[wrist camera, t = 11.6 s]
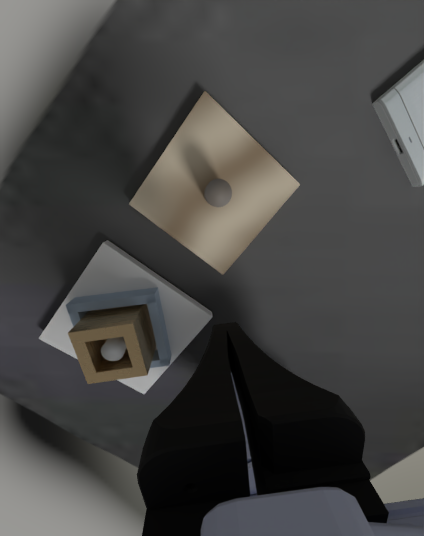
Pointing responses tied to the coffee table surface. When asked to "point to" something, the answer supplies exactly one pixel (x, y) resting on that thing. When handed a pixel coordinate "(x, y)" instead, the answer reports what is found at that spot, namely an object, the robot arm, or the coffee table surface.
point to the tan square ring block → (112, 326)
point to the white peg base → (127, 294)
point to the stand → (213, 186)
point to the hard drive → (406, 121)
